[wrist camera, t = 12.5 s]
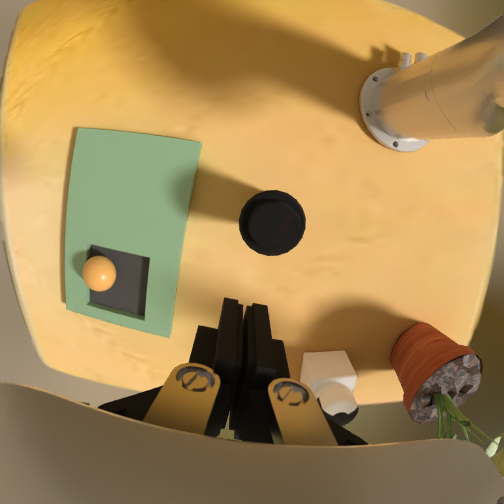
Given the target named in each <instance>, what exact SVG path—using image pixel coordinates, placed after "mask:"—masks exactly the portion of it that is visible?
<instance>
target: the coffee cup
mask: <svg viewBox="0 0 504 504" xmlns="http://www.w3.org/2000/svg"><path fill="white" fill-rule="evenodd" d="M305 223H306V218H305V214H304V211H303V208H302V207H301V205H300V204H299V203H298V201H297V200H296V199H295V198H293V197H292V196H291V195H289V194H288V193H285V192H281V191H278V190H267V191H264V192H261V193H258V194H256V195H255V196H253V197H252V198H251V199H249V200H248V201H247V203H246V204H245V206H244V207H243V209H242V211H241V214H240V218H239V230H240V233H241V236H242V238H243V240H244V241H245V243H246V244H247V245H248V246H249V248H251V249H252V250H254V251H256V252H257V253H259V254H263V255H267V256H278V255H281V254H284V253H287V252H289V251H290V250H291V249H293V248H294V247H295V246H297V244H298V243H299V241H300V240H301V239H302V237H303V234H304V231H305Z"/></svg>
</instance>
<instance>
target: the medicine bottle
mask: <svg viewBox="0 0 504 504" xmlns="http://www.w3.org/2000/svg"><path fill="white" fill-rule="evenodd" d="M356 381H357V374H356V372H355V370H354V368H353V365H352V363H351V361H350V359H349V357H348V355H347V353H346V352H345V351H344V350H343V351H326V352H306V353H304V354H303V361H302V368H301V375H300V382H302V383H304V384H306V385H307V386H308V387H309V388H310V389H311V390H312V392H313V394H314V396H315V398H316V400H317V402H318V404H319V406H320V408H321V410H322V412H323V414H324V416H326V417H327V418H329V419H330V420H332V421H334V422H335V423H337V424H338V425H340V426H341V427H342V426H344V425H346V424H348V423H349V422H351V421H352V420H353V419H354V418H355V416H356V415H357V413H358V405H357V402H356V400H355V398H354V395H353V391H354V387H355V384H356Z"/></svg>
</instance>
